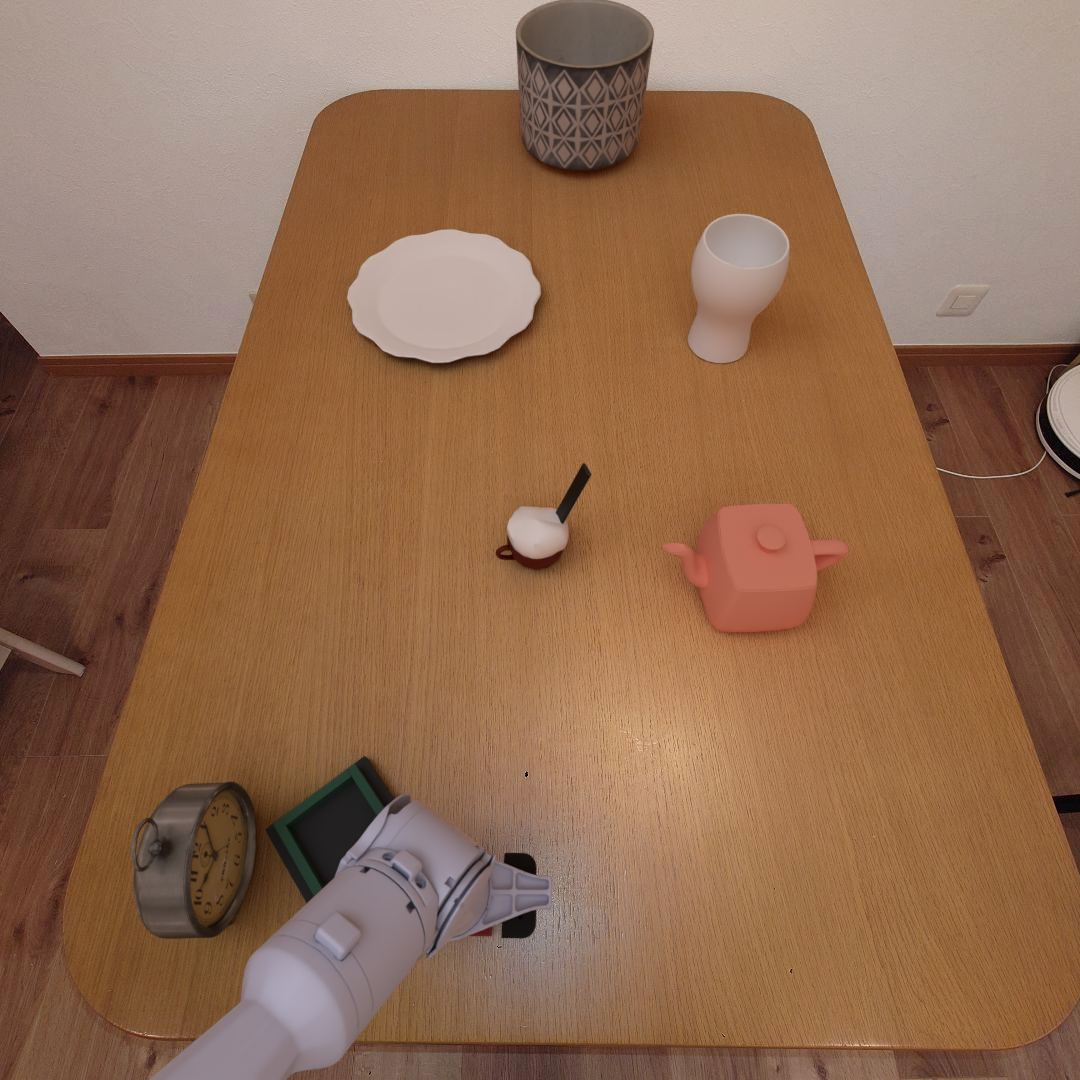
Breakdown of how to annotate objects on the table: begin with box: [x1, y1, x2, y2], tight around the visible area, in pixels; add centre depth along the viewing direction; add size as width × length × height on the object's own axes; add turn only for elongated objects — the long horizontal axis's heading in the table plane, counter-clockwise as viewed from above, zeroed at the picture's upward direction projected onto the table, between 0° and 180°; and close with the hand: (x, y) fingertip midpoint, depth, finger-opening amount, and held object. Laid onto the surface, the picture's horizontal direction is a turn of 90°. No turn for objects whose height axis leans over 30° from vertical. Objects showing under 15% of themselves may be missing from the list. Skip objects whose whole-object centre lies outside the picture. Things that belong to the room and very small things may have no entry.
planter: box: [515, 0, 655, 172], centre depth 107 cm, size 19×19×16 cm
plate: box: [346, 229, 542, 365], centre depth 95 cm, size 25×25×2 cm
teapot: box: [662, 502, 850, 633], centre depth 69 cm, size 12×18×10 cm, turn 93°
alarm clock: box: [130, 781, 257, 940], centre depth 54 cm, size 11×5×16 cm, turn 1°
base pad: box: [264, 755, 395, 904], centre depth 61 cm, size 10×9×3 cm
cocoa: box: [495, 462, 592, 571], centre depth 71 cm, size 10×6×12 cm, turn 92°
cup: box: [687, 213, 791, 364], centre depth 85 cm, size 11×11×15 cm
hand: (461, 900), depth 58 cm, fingers open, 7 cm apart
